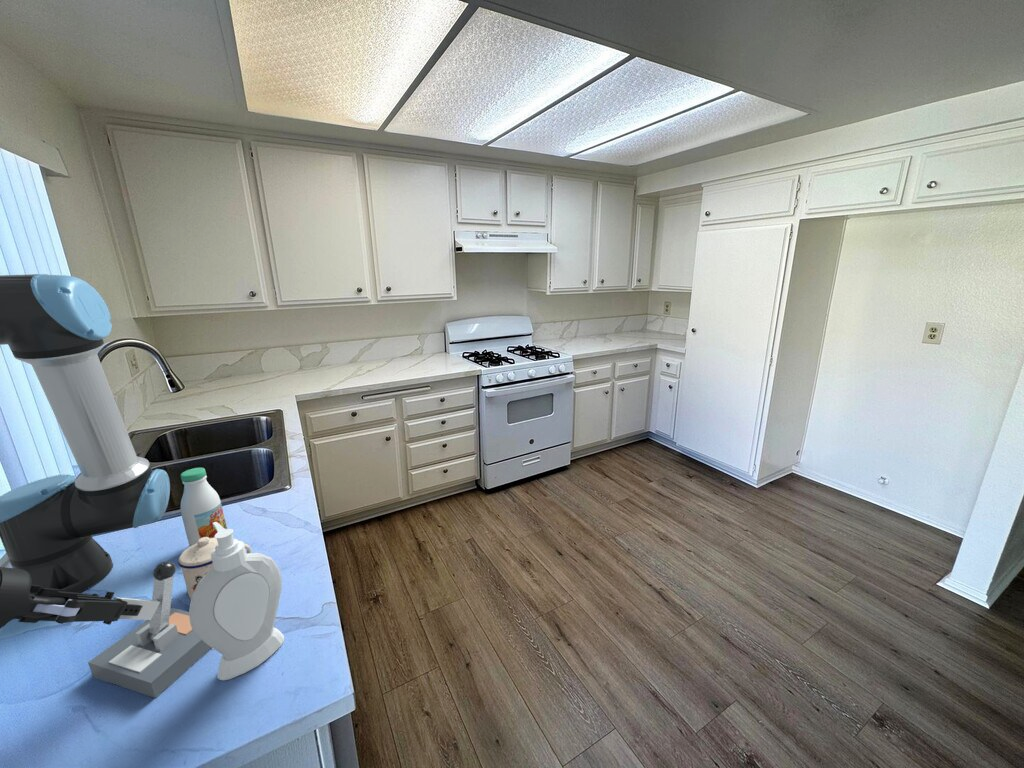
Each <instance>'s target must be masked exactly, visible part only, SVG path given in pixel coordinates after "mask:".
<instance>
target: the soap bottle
mask: <svg viewBox="0 0 1024 768" xmlns="http://www.w3.org/2000/svg"><path fill="white" fill-rule="evenodd" d="M213 526H214V527H215V528H216V530H217V533H216V534H215V538H216V539H217V542H218V545H216V547H215V549H214V550H213V551H212V553H211V558H212V562H213V566H214V567H213V568H212V569H211V570H210V571H209V572H208V573H207V574H206V575H205V576H204V577H203V578H202V579H201V580H200V581H199V583H198V585H197V587H196V589H195V591H194V593H193V594H192V597H191V599H190V605H189V609H188V612H189V617H190V624H191V627H192V629H193V631H194V632H195V633H196V635H197V636H198V637H199V638H201V639H202V640H203V641H204V642H205V643H206V644H207V645H209V646H210V647H212V648H211V649H214V650H215V651H217V652H218V653H219V654H221V657H220V659H219V664H218V669H217V676H216V677H217V679H218V680H220V681H228V680H231V679H233V678H236V677H238V676H242V675H243V674H245V673H246V674H247V672H249V671H251V670H253V669H254V668H256V667H258V666H260V665H261V664H262V663H264V662H265V661H266V660H267V659H269V658H270V657H271V656H273V654H274V653H275V652H276V651H277V650H279V648H280V647H282V645H283V643H284V642H285V636H284V634H283V633H282V632H281V631H280V629H278V628H276V627H274V625H275V621H276V617H277V613H278V609H279V604H280V599H281V594H282V593H281V592H282V586H283V584H282V583H283V579H282V574H281V571H280V568H279V566H278V565H277V564H276V562H275V560H273V558H272V557H271V556H268V555H265V554H263V553H261V552H253V553H252V552H251V553H247V550H246V549H245V546H244V544H245V542H244V541H242V540H238V539H237V538H234V534H233V533H234V529H233V528H227V529H224V528H223V527H222V526H221V525H220V524H219V523H217V522H214V523H213Z"/></svg>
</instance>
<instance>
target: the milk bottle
mask: <svg viewBox="0 0 1024 768" xmlns="http://www.w3.org/2000/svg"><path fill="white" fill-rule="evenodd" d="M207 478H208V476H207V472H206V469H205V468H204V467H194V468H191V469H186V470H185V471H183V472H181V473H180V479H181V482H182V484H183V485H184V487H183V494H182V497H181V500H180V513H181V518H182V523H183V526H184V530H185V535H186V539H187V542H188V548H189V547H190V546H192V545H194V544H196V543H197V542H198V540H199V539H201V538H203V537H208V538H209V539H210V538H215V534H216V533H217V530H216V528H215V527H214V526H213V523H214V522H217V523H219V524H220V525H221V526H222V527H223V528H224V529H228V526H227V522H226V521H227V520H226V518H225V513H224V509H223V506H222V501H221V498H220V495H219V494H218V492H217V491H216V490H215V489H214V487H212V486H211V484H209V482H208V481H207Z"/></svg>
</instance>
